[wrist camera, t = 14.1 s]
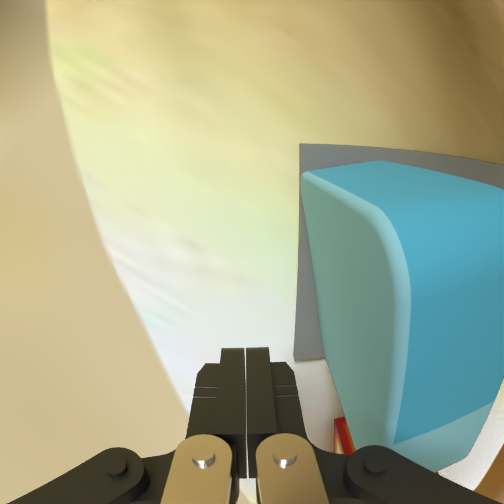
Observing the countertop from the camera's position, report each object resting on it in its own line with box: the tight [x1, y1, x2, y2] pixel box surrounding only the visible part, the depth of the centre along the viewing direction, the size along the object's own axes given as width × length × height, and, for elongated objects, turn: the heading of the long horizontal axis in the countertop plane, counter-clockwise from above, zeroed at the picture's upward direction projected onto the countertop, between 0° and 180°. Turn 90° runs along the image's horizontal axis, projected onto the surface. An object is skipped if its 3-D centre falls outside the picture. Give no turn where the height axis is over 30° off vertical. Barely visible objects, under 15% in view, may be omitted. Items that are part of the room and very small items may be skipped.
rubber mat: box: [293, 144, 504, 361], centre depth 19 cm, size 14×18×1 cm
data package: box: [301, 160, 504, 472], centre depth 13 cm, size 12×4×12 cm, turn 11°
